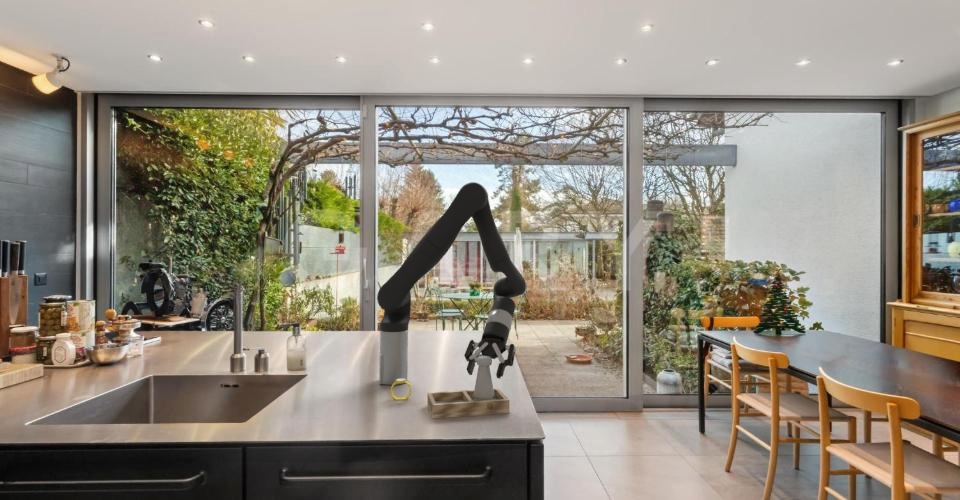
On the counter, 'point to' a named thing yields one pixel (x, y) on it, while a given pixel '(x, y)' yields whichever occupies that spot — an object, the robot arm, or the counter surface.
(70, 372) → the counter surface
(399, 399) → the watch
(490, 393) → the salt shaker
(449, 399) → the tray
